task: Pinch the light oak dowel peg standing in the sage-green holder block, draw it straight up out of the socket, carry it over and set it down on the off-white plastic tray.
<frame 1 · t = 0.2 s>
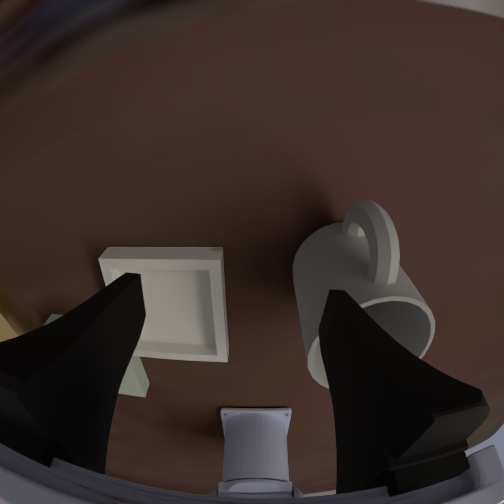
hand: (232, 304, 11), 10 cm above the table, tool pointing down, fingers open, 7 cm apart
holder: (100, 350, 27), on the table
tray: (170, 301, 24), on the table
cup: (340, 246, 22), on the table
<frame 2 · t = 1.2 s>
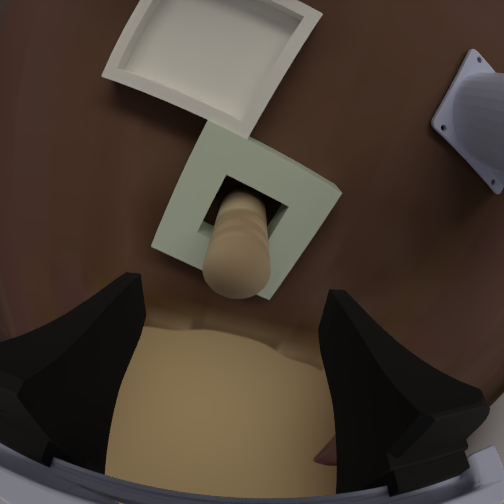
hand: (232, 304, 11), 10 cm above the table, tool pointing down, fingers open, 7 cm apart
peg: (240, 233, 17), in the holder
holder: (242, 208, 21), on the table
tray: (210, 41, 15), on the table
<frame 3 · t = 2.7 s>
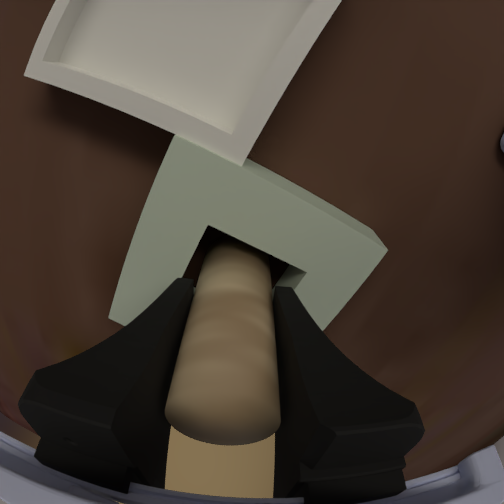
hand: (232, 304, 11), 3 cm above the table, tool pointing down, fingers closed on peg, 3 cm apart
peg: (231, 323, 10), in the holder, touching gripper
holder: (236, 264, 14), on the table
tray: (184, 9, 9), on the table
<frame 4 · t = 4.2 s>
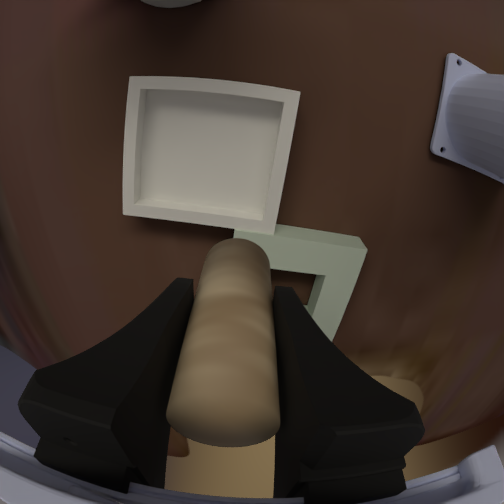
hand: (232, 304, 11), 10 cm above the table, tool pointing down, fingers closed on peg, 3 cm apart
peg: (231, 326, 11), point 12 cm above the table, touching gripper
holder: (287, 281, 23), on the table
tray: (206, 148, 19), on the table
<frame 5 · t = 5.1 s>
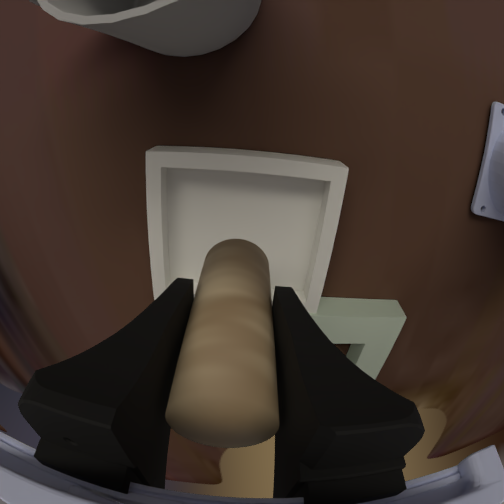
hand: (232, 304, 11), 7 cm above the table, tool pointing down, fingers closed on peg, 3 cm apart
peg: (230, 327, 11), point 8 cm above the table, touching gripper
holder: (325, 344, 22), on the table
tray: (241, 227, 18), on the table
cup: (168, 2, 12), on the table
when the fingers open (5 cm above the table, at t = 5.8 s): peg drops 1 cm, resting on tray.
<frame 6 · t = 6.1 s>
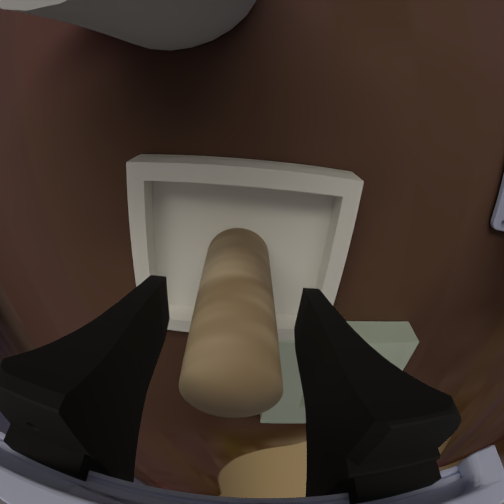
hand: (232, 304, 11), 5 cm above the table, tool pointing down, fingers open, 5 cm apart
peg: (234, 307, 12), in the tray, point 5 cm above the table
holder: (330, 368, 20), on the table
tray: (238, 246, 16), on the table
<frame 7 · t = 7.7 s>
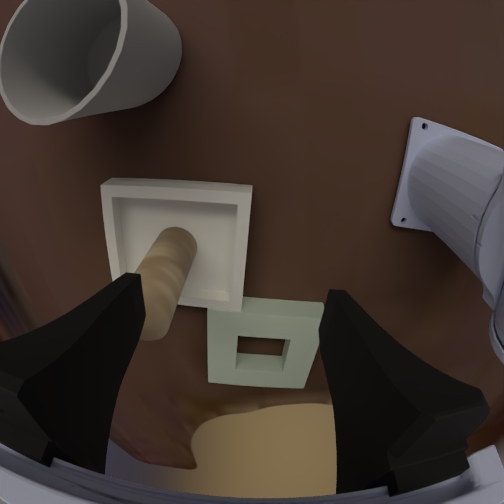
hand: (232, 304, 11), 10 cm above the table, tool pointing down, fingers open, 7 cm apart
peg: (161, 276, 18), in the tray, point 5 cm above the table
holder: (261, 338, 26), on the table
tray: (178, 239, 22), on the table
cup: (114, 60, 16), on the table
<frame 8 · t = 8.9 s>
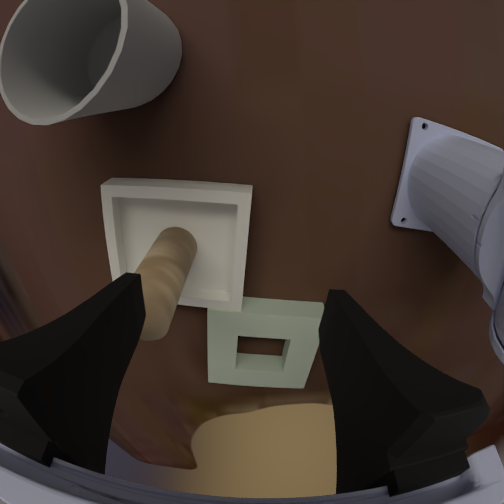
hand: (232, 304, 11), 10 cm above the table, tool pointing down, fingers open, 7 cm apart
peg: (161, 276, 18), in the tray, point 5 cm above the table
holder: (261, 338, 26), on the table
tray: (178, 239, 22), on the table
cup: (114, 60, 16), on the table
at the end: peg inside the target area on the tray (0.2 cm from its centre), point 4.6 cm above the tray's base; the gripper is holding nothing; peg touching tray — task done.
